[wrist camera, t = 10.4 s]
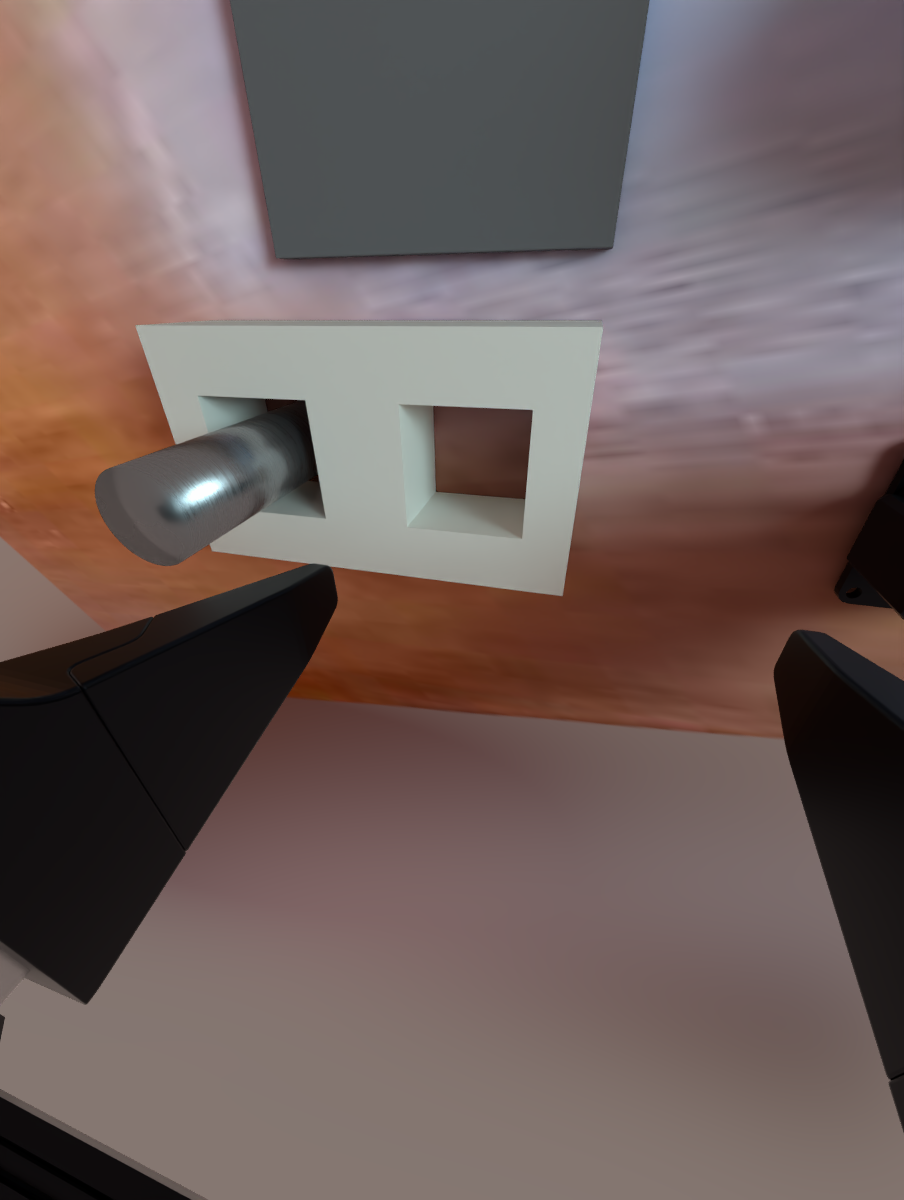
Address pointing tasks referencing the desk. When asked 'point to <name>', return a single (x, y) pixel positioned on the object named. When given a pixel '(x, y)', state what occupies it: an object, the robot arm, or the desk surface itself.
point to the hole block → (394, 436)
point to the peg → (206, 484)
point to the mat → (440, 122)
